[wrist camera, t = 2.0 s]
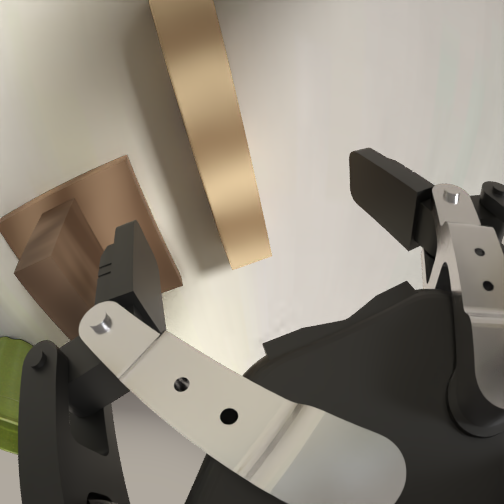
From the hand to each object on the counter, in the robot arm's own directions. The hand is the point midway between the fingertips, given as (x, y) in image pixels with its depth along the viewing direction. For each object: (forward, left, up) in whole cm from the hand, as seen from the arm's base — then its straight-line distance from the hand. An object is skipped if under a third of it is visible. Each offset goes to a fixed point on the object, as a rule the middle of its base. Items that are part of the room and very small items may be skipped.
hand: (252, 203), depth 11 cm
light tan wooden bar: (0, 0, -12) cm, 12 cm away
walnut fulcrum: (+12, +6, -12) cm, 18 cm away
